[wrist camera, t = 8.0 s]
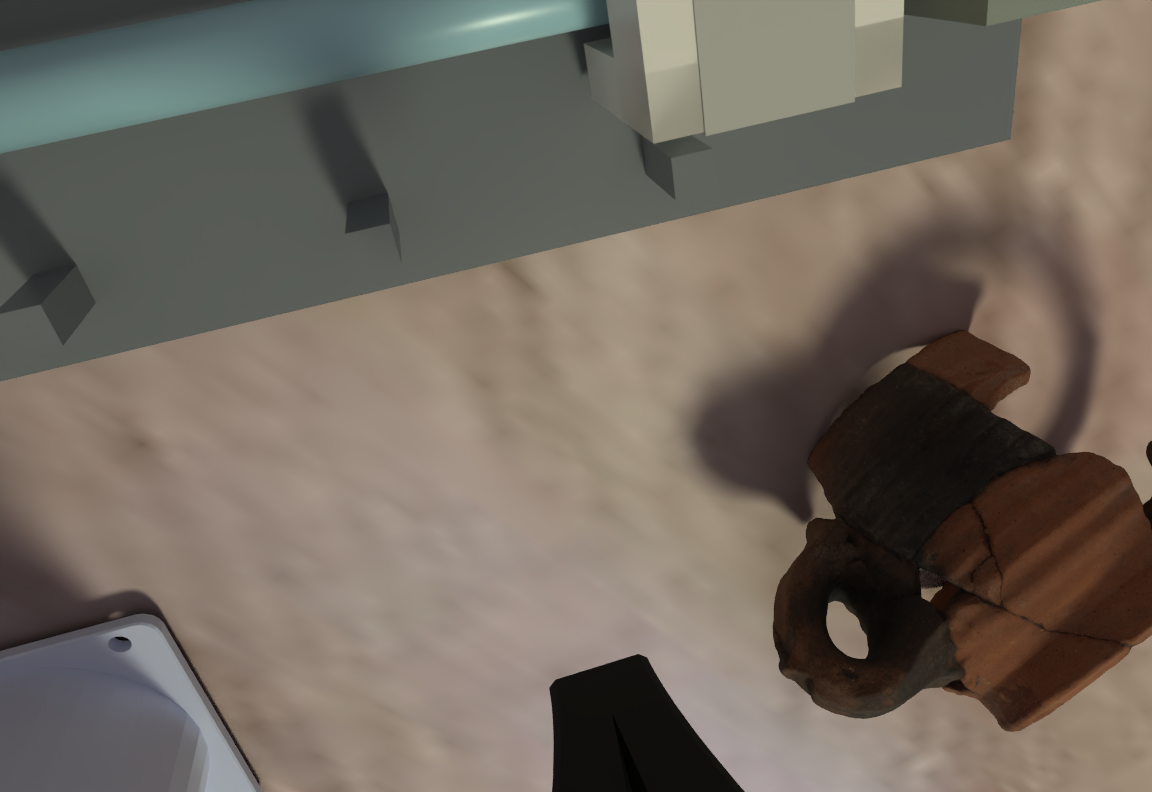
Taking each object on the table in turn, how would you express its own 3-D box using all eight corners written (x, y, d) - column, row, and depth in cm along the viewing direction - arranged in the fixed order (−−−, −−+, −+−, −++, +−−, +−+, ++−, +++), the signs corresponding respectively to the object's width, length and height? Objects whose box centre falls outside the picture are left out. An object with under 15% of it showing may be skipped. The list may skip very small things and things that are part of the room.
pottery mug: (1048, 246, 22) (1363, 469, 18) (951, 427, 30) (1155, 610, 26) (684, 485, 20) (956, 811, 15) (682, 614, 27) (862, 852, 23)
